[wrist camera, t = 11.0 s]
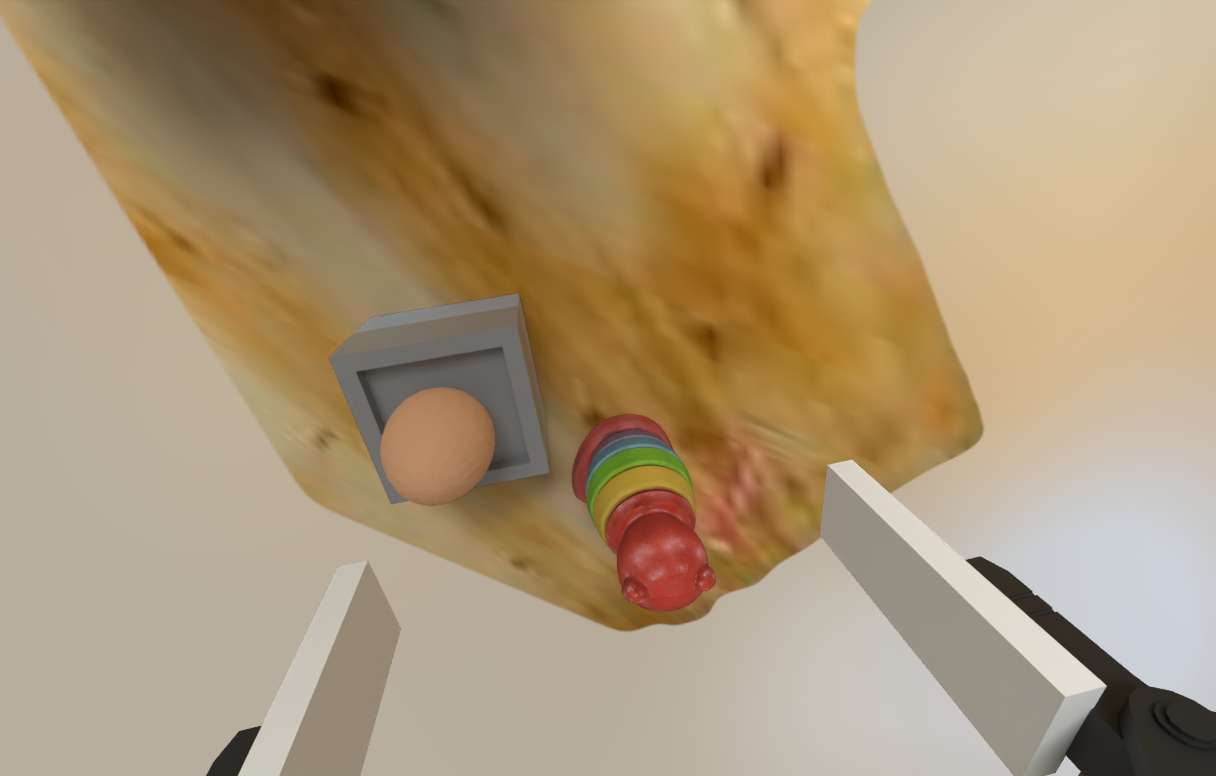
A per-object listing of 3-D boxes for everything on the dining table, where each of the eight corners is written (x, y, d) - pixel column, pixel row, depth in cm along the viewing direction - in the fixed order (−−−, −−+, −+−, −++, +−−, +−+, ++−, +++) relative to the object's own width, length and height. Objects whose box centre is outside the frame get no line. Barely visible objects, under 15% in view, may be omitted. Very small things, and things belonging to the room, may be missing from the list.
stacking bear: (572, 499, 48) (594, 660, 32) (570, 414, 44) (595, 552, 28) (671, 490, 50) (739, 640, 34) (679, 407, 45) (761, 534, 30)
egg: (403, 451, 34) (365, 537, 26) (396, 366, 31) (351, 433, 23) (497, 452, 35) (489, 534, 27) (499, 370, 32) (490, 435, 24)
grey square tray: (371, 317, 37) (328, 357, 29) (519, 293, 38) (516, 325, 30) (417, 441, 42) (391, 504, 34) (545, 417, 43) (549, 472, 35)
